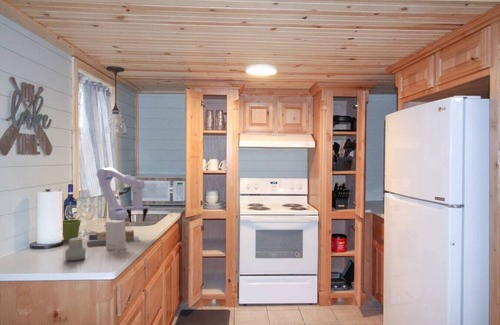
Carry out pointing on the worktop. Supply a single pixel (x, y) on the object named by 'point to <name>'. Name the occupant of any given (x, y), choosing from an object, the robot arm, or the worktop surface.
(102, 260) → the worktop surface
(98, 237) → the box plain
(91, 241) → the parts bin
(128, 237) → the box stamped
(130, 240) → the coaster
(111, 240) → the skincare box
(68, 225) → the plant pot
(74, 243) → the air freshener
